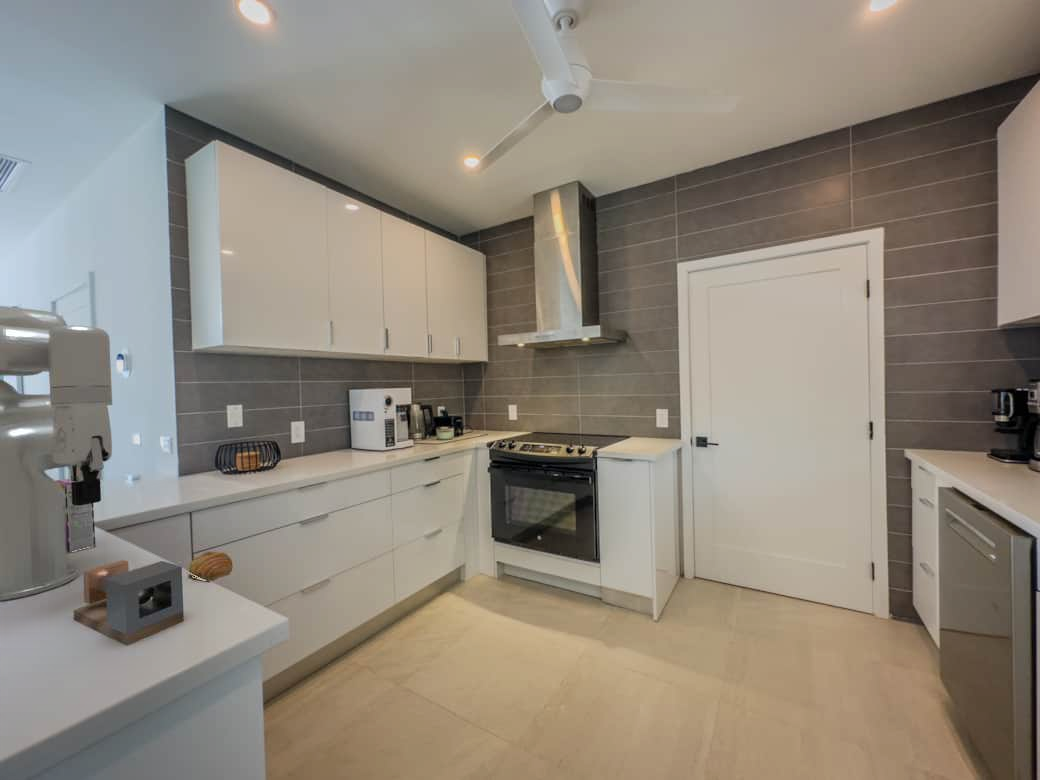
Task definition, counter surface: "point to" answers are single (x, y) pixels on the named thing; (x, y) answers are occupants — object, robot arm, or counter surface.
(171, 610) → the shaft frame
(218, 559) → the pastry
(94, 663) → the counter surface
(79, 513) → the candy bar box
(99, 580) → the shaft
